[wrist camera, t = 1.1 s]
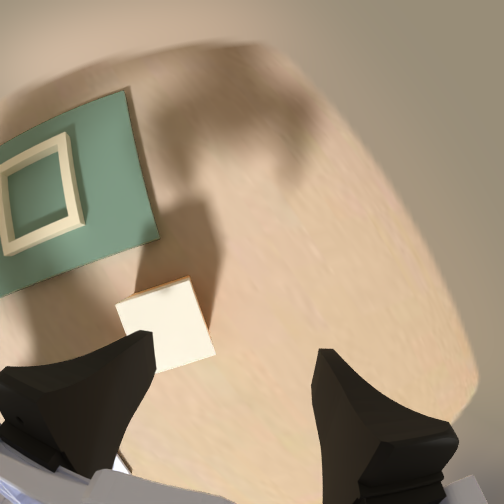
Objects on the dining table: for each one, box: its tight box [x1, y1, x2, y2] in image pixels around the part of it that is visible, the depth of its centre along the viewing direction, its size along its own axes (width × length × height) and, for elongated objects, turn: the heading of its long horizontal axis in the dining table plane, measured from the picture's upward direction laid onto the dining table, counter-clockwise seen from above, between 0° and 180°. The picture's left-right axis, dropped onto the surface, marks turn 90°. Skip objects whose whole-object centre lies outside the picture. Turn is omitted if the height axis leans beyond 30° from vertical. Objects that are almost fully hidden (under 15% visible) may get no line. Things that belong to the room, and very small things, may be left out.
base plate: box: [0, 90, 160, 298], centre depth 18 cm, size 18×13×2 cm
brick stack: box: [115, 275, 216, 374], centre depth 18 cm, size 4×4×6 cm
